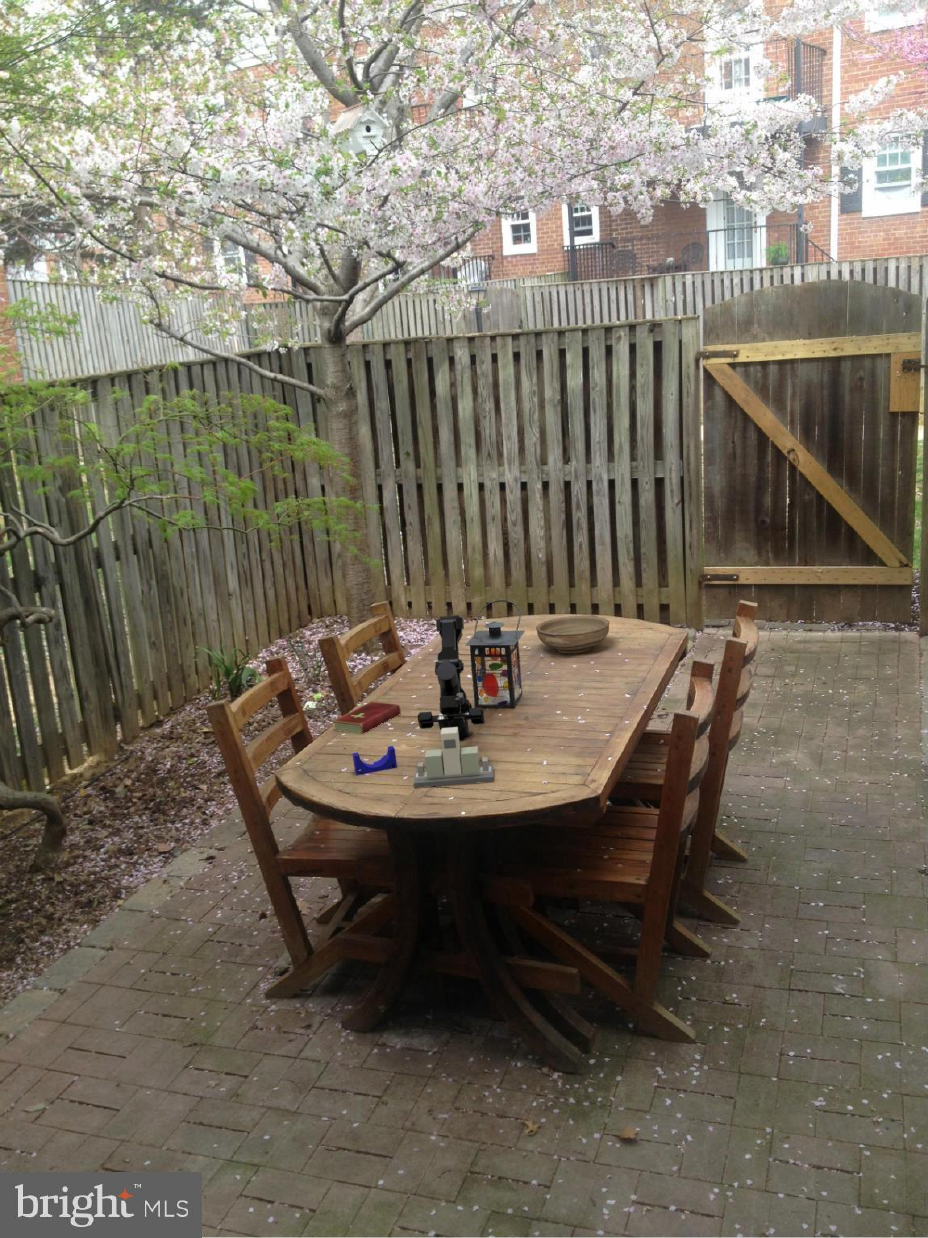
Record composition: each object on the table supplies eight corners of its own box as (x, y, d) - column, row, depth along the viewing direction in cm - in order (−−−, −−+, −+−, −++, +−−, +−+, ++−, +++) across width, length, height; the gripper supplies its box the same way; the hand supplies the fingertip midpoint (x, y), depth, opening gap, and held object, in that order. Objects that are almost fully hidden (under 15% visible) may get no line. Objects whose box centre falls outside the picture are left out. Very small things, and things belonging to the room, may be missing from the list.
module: (446, 768, 299) (441, 728, 297) (462, 767, 299) (457, 726, 297) (445, 775, 294) (440, 734, 292) (461, 774, 294) (456, 733, 291)
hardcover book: (401, 715, 360) (399, 703, 359) (362, 736, 343) (361, 723, 342) (373, 712, 366) (371, 700, 365) (334, 732, 350) (332, 720, 349)
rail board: (416, 776, 303) (413, 748, 301) (493, 769, 302) (491, 742, 300) (414, 788, 294) (410, 759, 292) (493, 781, 293) (490, 753, 291)
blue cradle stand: (393, 763, 315) (391, 744, 314) (397, 768, 311) (394, 748, 310) (354, 770, 312) (351, 751, 311) (356, 776, 308) (354, 756, 307)
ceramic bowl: (564, 635, 442) (562, 611, 439) (627, 638, 426) (626, 614, 424) (519, 659, 412) (517, 634, 409) (586, 664, 396) (584, 638, 394)
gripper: (414, 685, 302) (415, 736, 294) (480, 680, 301) (483, 730, 293) (419, 703, 312) (421, 752, 304) (483, 698, 311) (486, 747, 303)
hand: (452, 745), depth 301 cm, fingers closed
